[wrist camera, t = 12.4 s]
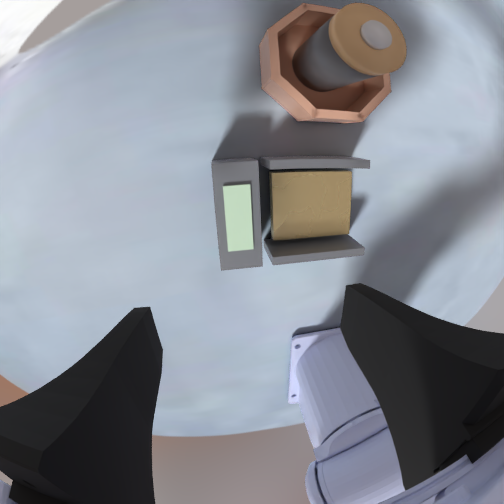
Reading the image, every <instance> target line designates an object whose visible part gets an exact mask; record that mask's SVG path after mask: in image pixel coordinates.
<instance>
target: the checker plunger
mask: <svg viewBox="0 0 504 504" xmlns="http://www.w3.org/2000/svg"><path fill="white" fill-rule="evenodd" d="M269 181H270V210H271V237H272V238H273V240H274V241H275V240H286V239H297V238H308V237H320V236H331V235H343V234H349V228H350V211H351V185H352V172H351V171H348V170H302V171H274V172H269Z"/></svg>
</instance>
